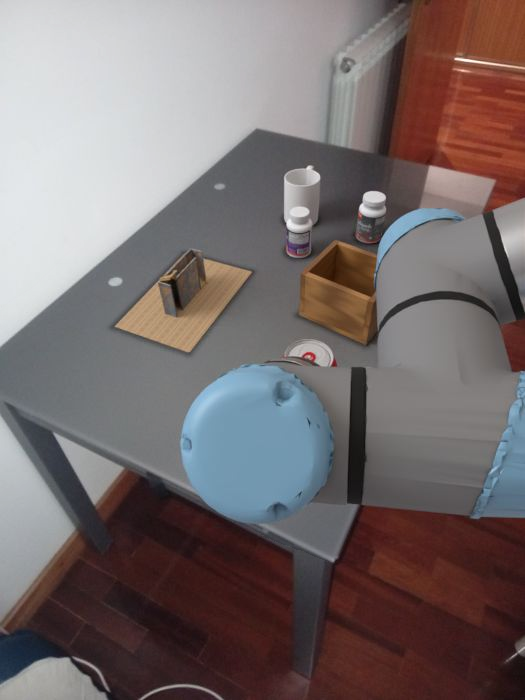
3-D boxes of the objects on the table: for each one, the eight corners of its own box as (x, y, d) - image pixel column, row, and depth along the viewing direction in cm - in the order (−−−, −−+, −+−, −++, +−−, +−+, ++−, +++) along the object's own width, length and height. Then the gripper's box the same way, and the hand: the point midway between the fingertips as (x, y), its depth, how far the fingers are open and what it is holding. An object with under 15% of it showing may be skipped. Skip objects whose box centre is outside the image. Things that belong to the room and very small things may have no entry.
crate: (395, 307, 93) (405, 264, 85) (366, 345, 86) (373, 302, 79) (331, 281, 99) (335, 239, 91) (298, 315, 92) (300, 272, 85)
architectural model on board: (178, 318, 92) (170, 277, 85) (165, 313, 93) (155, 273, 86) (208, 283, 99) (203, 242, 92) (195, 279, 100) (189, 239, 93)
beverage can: (339, 414, 61) (348, 347, 52) (317, 451, 58) (323, 387, 49) (294, 394, 64) (296, 328, 55) (271, 430, 60) (269, 364, 51)
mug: (312, 231, 111) (315, 188, 103) (279, 225, 113) (279, 183, 105) (326, 204, 119) (329, 162, 111) (294, 199, 121) (295, 158, 113)
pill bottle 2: (350, 236, 109) (354, 195, 102) (367, 227, 112) (373, 186, 104) (369, 247, 106) (375, 206, 99) (386, 237, 108) (394, 196, 101)
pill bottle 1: (292, 241, 108) (292, 202, 101) (314, 247, 107) (317, 207, 100) (282, 255, 105) (282, 215, 98) (305, 261, 103) (307, 221, 96)
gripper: (164, 434, 39) (231, 399, 62) (409, 476, 36) (385, 423, 59) (175, 341, 39) (239, 340, 62) (423, 375, 36) (394, 361, 59)
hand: (310, 381), depth 60 cm, fingers closed on beverage can, 6 cm apart
